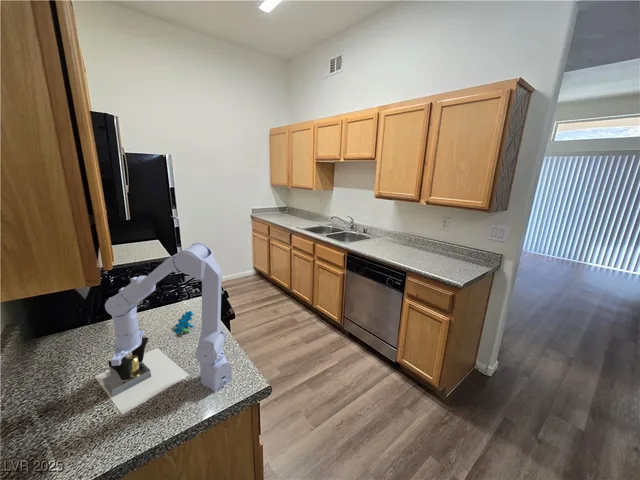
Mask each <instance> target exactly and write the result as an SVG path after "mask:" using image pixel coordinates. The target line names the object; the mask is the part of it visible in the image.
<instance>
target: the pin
mask: <svg viewBox="0 0 640 480" xmlns="http://www.w3.org/2000/svg"><path fill="white" fill-rule="evenodd" d="M126 358H127V359H131V358H134V359H133V361H132V364H131V377H130V378H132V377H134V376H136V375H138V374H140V369H139V362H138V356H137V355H132V354H131V355H129V356H128V357H126Z"/></svg>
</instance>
